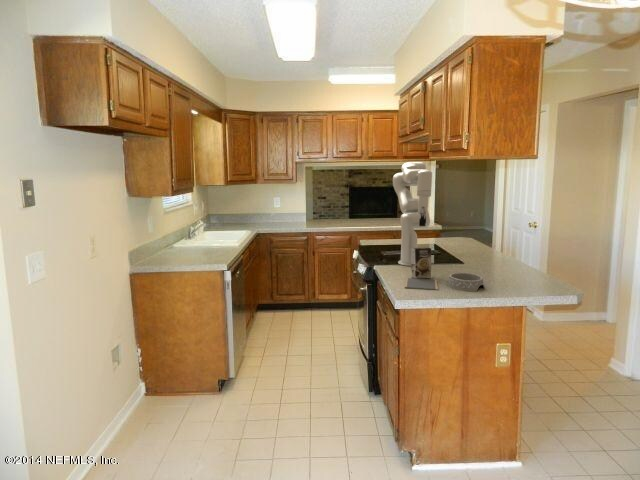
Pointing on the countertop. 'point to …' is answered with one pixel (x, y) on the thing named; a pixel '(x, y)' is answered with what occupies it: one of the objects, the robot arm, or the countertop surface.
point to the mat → (421, 284)
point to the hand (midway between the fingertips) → (422, 224)
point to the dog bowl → (465, 281)
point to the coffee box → (421, 262)
